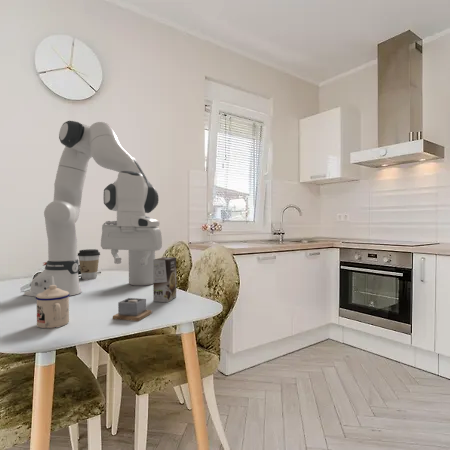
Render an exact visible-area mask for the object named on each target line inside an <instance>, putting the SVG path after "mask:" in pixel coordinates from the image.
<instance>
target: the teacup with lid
mask: <svg viewBox="0 0 450 450" xmlns="http://www.w3.org/2000/svg"><path fill="white" fill-rule="evenodd" d="M69 295H70V294H69V292H67V291H63V290H61V289H59V288H57V286H56V285H50V286H49V289H47V290H45V291H44V292H42V293H39V294H37V296H36V297H35V300H36V326H37V327H38V328H41V329H54V328H55V327H56V328H60V327H64V326H65V325H67V324H68V323H69V322H70V312H69V311H70V301H69V300H70V298H69V297H70V296H71V295H70V296H69Z"/></svg>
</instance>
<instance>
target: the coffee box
mask: <svg viewBox="0 0 450 450" xmlns="http://www.w3.org/2000/svg"><path fill="white" fill-rule="evenodd" d="M152 285H153V286H152V287H153V290H152V291H153V295H152V296H153V300H152V301H153V302H160V303H169V302H171V301H172V300H174V299H175V298H176V297H177V257H174V256H173V257H172V256H171V257H170V256H169V257H167V256H166V257H165V256H164V257H159V258H155V259H154V260H153V284H152ZM173 298H174V299H173ZM170 300H171V301H170Z"/></svg>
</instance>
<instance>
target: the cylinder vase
mask: <svg viewBox="0 0 450 450" xmlns="http://www.w3.org/2000/svg"><path fill="white" fill-rule="evenodd" d="M145 255H146V254H144V250H128V284H129V285H131V286H136V287H137V286H138V287H140V286H151V285H153V260H154V259H156V251H151V255H150V256H149V258H148V264H147V265H141V259H144V257H145Z"/></svg>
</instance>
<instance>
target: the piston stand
mask: <svg viewBox="0 0 450 450" xmlns="http://www.w3.org/2000/svg"><path fill="white" fill-rule="evenodd" d="M128 302H129V303H136V302H138V300H128ZM152 312H153V311H152V309H146V311H145V312H144V313H142V314H140V315H138V316H124V315H118V313H116V314H114V315H112V320H120V321H121V320H122V321H134V322H139V321H141V320H143V319H144V318H146V317H148V316H150V315H151V314H152Z"/></svg>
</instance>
